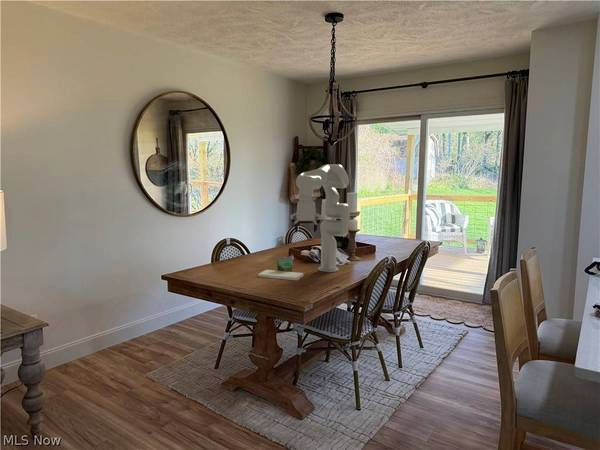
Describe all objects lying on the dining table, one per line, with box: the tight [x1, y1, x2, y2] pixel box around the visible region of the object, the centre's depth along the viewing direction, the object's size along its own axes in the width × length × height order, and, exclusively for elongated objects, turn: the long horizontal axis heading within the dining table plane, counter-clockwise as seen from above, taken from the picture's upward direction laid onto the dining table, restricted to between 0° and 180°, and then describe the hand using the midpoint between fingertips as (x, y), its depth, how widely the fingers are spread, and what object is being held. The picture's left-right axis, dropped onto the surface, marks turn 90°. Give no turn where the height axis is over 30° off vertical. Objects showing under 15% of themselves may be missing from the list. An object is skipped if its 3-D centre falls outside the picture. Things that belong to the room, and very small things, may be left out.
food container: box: [275, 254, 295, 272], centre depth 248 cm, size 12×6×10 cm, turn 129°
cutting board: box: [258, 269, 305, 281], centre depth 240 cm, size 12×24×2 cm, turn 71°
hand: (305, 231), depth 216 cm, fingers open, 9 cm apart
